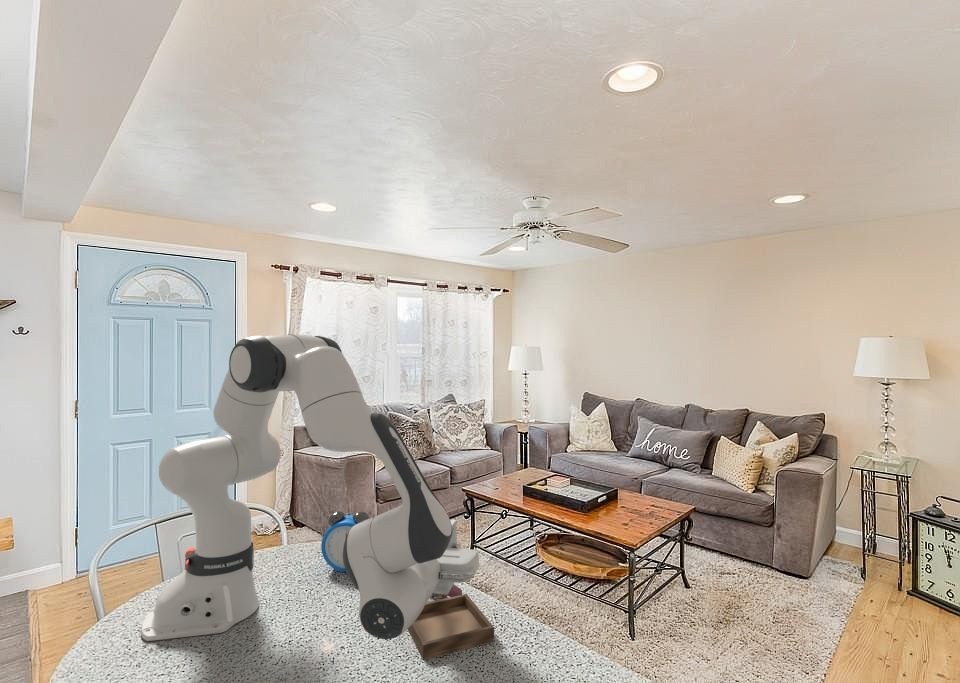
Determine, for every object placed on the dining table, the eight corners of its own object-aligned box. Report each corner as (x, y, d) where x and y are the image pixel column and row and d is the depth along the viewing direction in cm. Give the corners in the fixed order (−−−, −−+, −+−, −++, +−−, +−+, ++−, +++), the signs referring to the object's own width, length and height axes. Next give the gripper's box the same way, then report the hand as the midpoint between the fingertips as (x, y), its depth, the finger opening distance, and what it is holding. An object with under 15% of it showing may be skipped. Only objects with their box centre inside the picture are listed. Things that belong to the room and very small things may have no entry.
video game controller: (425, 595, 123) (415, 573, 121) (438, 581, 126) (428, 559, 124) (452, 610, 116) (442, 587, 114) (465, 595, 119) (455, 572, 117)
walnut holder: (423, 659, 96) (423, 645, 96) (402, 620, 109) (402, 607, 109) (494, 641, 102) (494, 627, 102) (466, 606, 115) (466, 593, 115)
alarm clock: (320, 572, 132) (320, 515, 132) (328, 562, 138) (328, 507, 138) (370, 573, 131) (370, 515, 131) (376, 563, 138) (376, 508, 138)
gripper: (470, 561, 90) (486, 533, 104) (364, 553, 95) (391, 527, 108) (471, 597, 90) (486, 564, 104) (364, 587, 95) (392, 557, 108)
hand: (437, 545), depth 106 cm, fingers closed on supplement box, 7 cm apart
